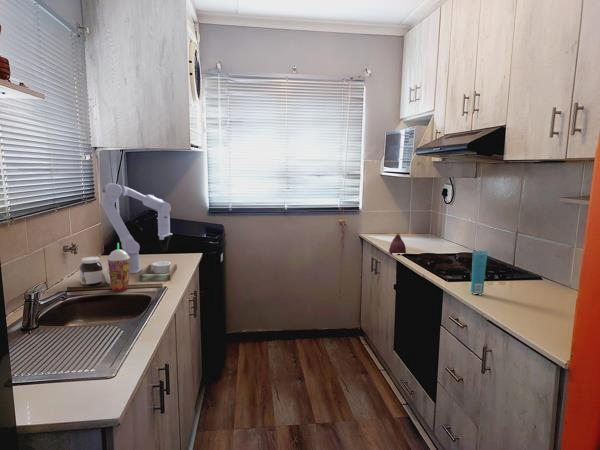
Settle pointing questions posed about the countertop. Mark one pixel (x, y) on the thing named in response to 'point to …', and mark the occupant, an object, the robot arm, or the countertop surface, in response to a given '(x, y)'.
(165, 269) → the ramekin
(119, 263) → the smoothie
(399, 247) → the vegetable
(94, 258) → the spread jar
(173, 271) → the channel
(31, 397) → the countertop surface
